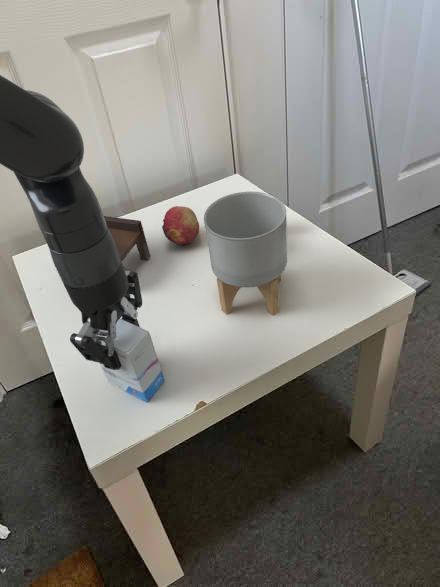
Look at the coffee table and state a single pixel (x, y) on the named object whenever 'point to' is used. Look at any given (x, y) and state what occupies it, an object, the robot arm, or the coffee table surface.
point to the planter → (247, 245)
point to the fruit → (180, 225)
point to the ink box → (135, 362)
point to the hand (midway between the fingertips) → (124, 350)
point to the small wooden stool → (128, 236)
